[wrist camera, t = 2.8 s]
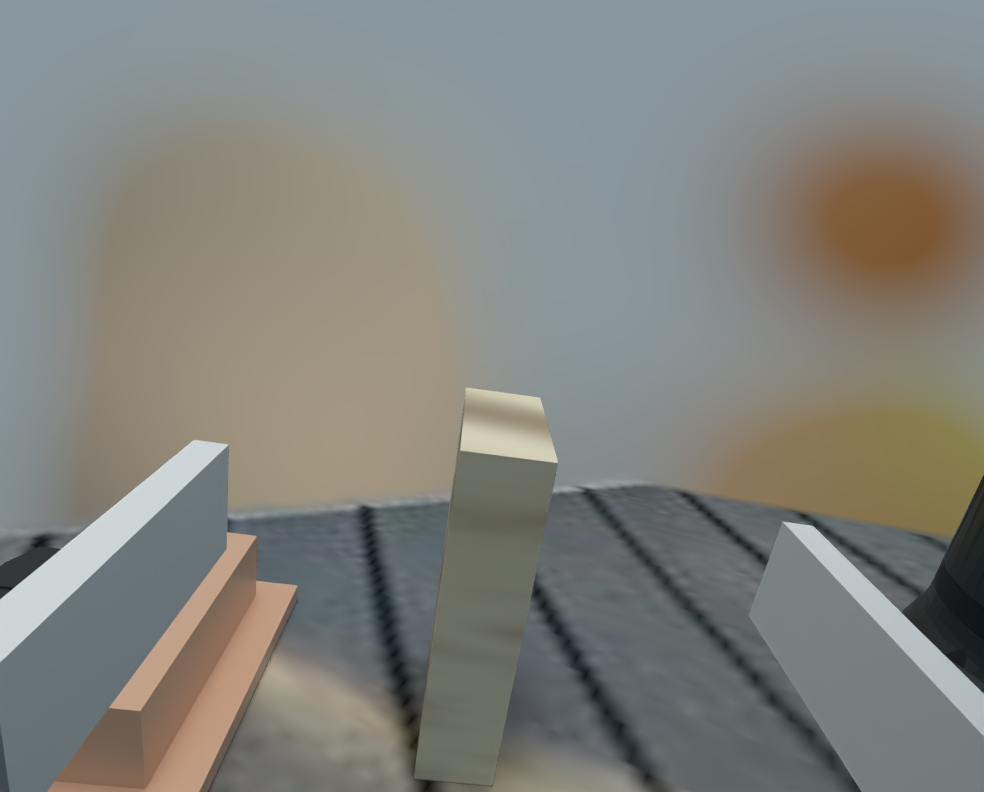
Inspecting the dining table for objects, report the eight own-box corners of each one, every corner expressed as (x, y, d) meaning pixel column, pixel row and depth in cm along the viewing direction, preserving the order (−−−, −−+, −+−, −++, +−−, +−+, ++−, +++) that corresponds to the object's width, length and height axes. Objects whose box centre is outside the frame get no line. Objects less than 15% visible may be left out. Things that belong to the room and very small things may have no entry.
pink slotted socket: (92, 576, 34) (85, 502, 33) (297, 599, 35) (300, 528, 33) (-155, 816, 21) (-187, 712, 19) (183, 845, 22) (179, 747, 20)
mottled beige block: (428, 658, 32) (466, 387, 27) (490, 665, 32) (540, 397, 27) (413, 778, 25) (460, 450, 20) (492, 786, 26) (558, 463, 21)
